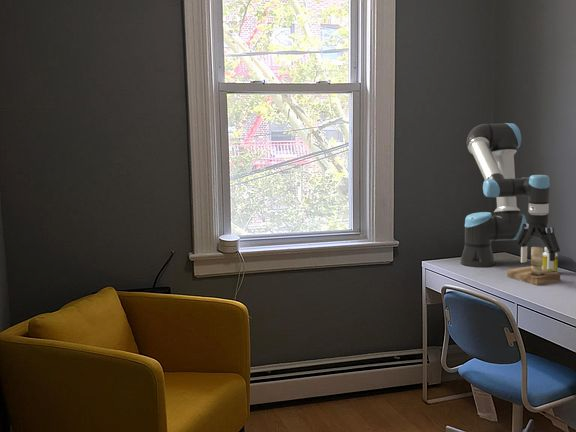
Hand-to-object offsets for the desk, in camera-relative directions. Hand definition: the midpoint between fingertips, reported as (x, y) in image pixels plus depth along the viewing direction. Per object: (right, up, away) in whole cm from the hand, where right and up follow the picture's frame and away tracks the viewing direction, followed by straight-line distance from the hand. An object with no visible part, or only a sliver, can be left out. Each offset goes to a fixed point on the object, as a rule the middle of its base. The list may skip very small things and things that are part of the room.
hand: (536, 265), depth 251 cm
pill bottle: (+11, -5, +14) cm, 18 cm away
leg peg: (0, -7, +1) cm, 7 cm away
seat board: (0, -6, +5) cm, 8 cm away
